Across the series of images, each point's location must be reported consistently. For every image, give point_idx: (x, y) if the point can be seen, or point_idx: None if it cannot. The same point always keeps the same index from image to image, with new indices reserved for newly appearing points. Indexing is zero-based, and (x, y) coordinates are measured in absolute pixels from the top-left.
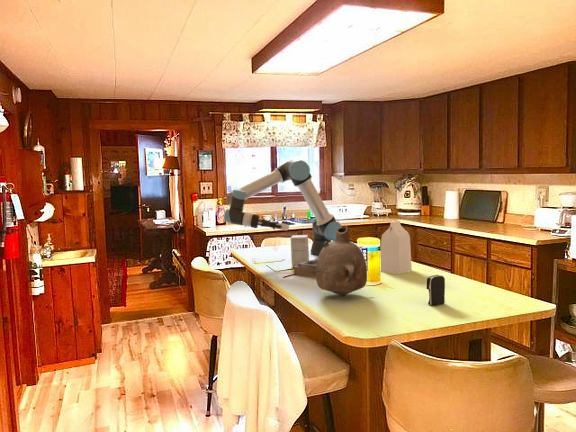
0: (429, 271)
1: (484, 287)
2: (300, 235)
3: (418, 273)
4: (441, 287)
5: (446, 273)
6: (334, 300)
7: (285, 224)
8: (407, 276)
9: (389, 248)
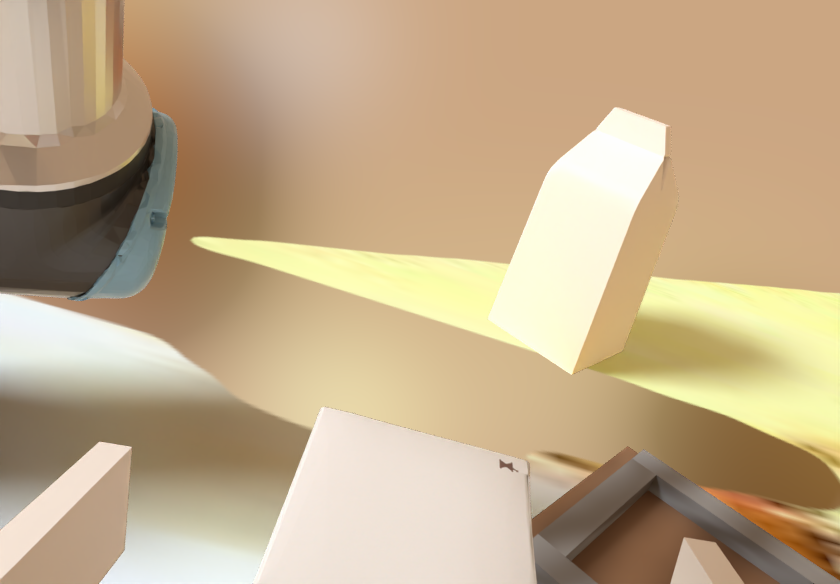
0: None
1: (744, 293)
2: (358, 483)
3: None
4: None
5: None
6: None
7: (81, 502)
8: (657, 347)
9: (637, 260)
